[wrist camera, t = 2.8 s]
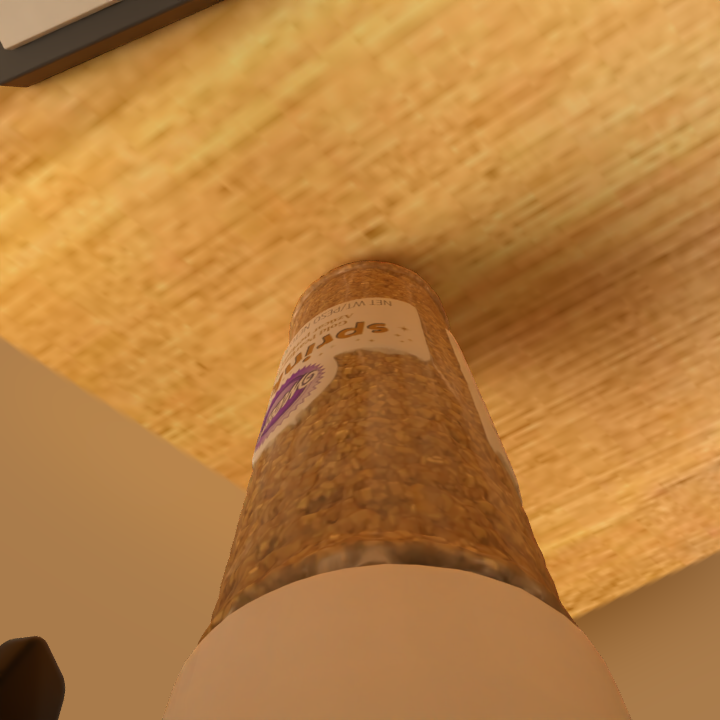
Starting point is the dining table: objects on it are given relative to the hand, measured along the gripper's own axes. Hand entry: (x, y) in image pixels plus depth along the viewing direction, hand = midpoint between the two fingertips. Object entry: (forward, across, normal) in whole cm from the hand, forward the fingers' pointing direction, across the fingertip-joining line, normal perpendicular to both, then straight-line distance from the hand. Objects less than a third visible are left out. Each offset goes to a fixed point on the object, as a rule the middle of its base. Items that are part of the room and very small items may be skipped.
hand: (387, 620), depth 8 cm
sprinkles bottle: (+10, 0, 0) cm, 10 cm away
